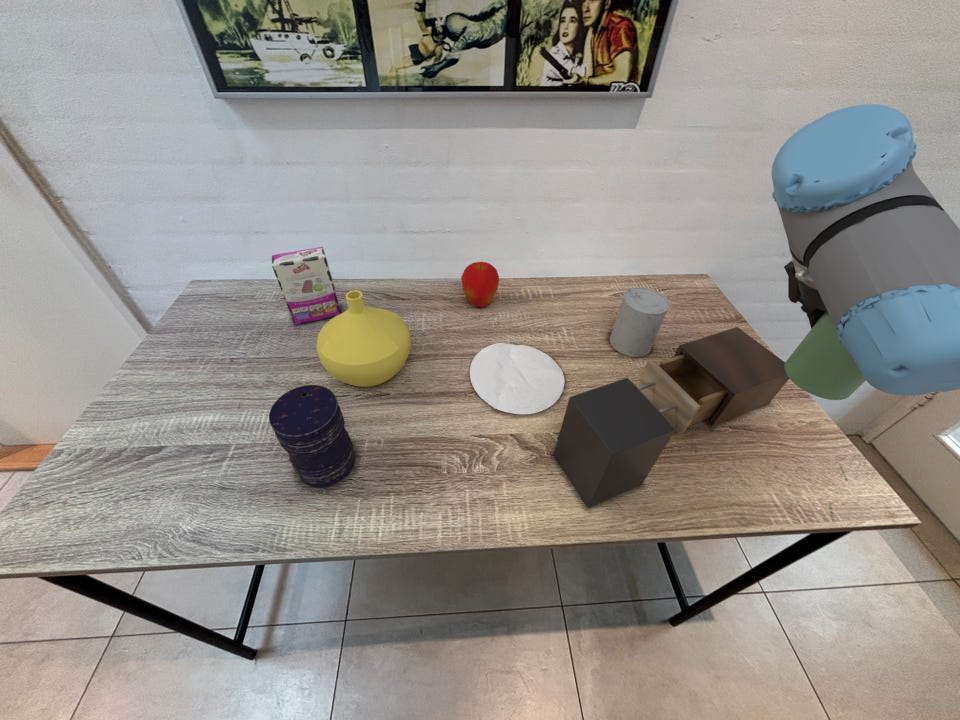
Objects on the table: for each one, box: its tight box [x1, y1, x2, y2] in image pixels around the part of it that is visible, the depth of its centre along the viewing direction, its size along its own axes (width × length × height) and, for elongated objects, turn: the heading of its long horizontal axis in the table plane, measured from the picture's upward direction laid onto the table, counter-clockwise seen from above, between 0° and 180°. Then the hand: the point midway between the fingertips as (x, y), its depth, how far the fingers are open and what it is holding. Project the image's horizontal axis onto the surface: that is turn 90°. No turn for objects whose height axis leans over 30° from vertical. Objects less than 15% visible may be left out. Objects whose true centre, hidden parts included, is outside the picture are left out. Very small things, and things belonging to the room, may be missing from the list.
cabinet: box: [673, 326, 791, 428], centre depth 82 cm, size 16×14×10 cm
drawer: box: [635, 354, 729, 436], centre depth 79 cm, size 20×13×8 cm, turn 113°
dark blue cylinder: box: [268, 384, 357, 490], centre depth 66 cm, size 10×10×15 cm
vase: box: [315, 290, 412, 388], centre depth 81 cm, size 18×18×19 cm
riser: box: [553, 377, 676, 509], centre depth 66 cm, size 11×11×16 cm
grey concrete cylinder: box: [609, 286, 671, 358], centre depth 92 cm, size 10×10×12 cm
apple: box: [460, 261, 500, 308], centre depth 101 cm, size 9×9×12 cm
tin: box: [784, 311, 867, 401], centre depth 51 cm, size 8×8×12 cm
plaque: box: [469, 342, 565, 415], centre depth 87 cm, size 20×20×2 cm
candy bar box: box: [271, 246, 342, 326], centre depth 94 cm, size 11×5×16 cm, turn 112°
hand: (854, 352), depth 53 cm, fingers closed on tin, 8 cm apart
